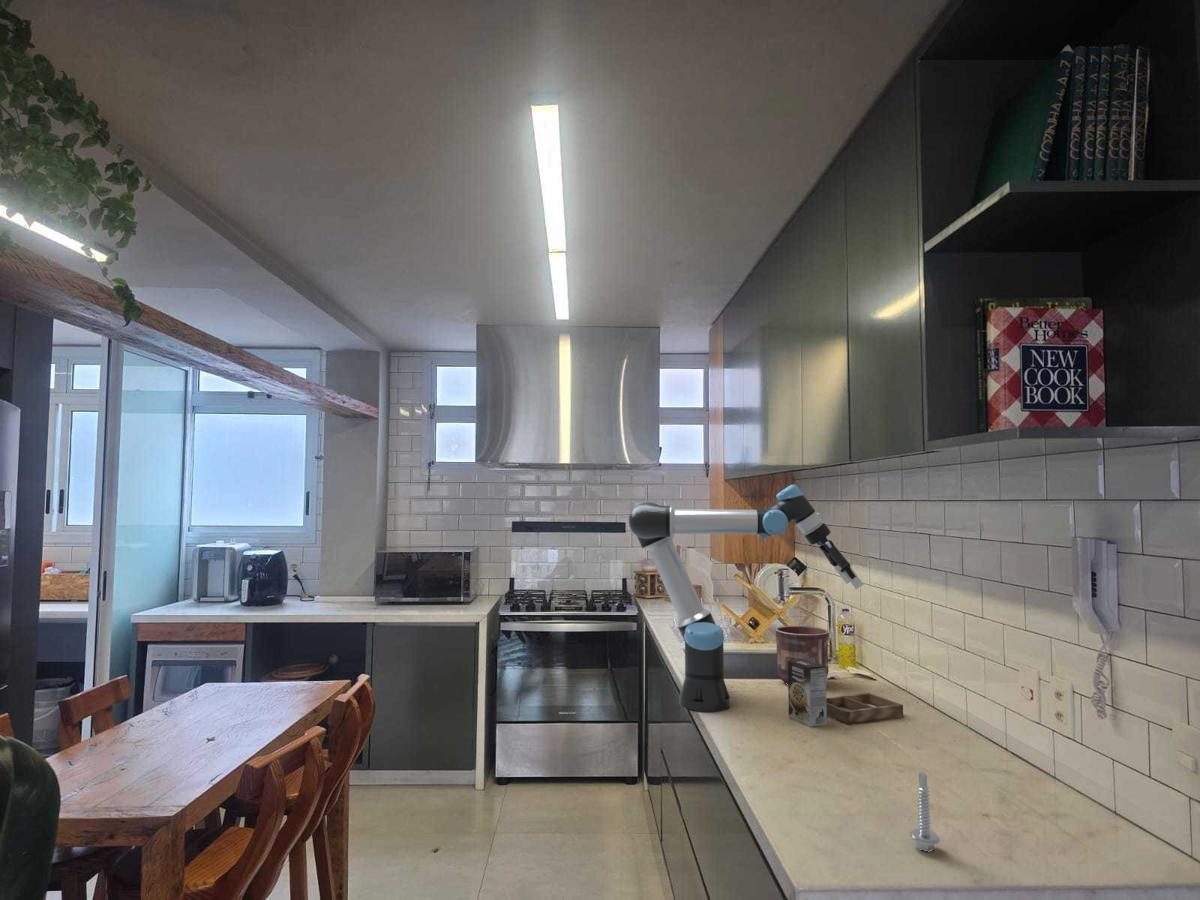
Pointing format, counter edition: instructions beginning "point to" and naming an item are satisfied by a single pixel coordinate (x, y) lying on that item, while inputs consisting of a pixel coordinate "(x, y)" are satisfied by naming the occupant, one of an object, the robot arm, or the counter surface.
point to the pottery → (800, 647)
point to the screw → (924, 819)
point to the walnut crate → (862, 708)
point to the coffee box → (807, 692)
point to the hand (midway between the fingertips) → (854, 584)
